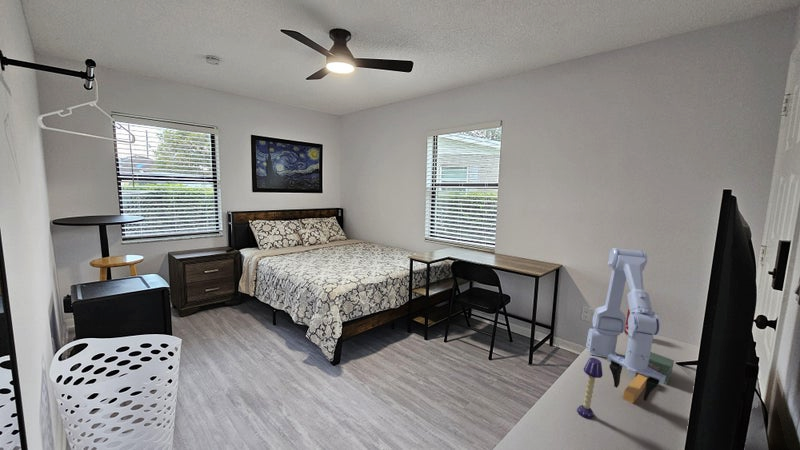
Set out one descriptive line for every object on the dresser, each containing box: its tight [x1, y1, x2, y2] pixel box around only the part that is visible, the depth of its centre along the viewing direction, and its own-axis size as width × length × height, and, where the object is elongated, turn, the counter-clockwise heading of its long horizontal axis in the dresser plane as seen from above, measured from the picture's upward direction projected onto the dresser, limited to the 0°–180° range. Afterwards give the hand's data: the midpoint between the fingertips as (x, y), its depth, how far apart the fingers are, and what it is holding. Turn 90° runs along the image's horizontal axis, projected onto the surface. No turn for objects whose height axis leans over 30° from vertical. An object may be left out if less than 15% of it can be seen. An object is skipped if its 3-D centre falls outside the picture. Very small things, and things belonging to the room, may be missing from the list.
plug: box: [622, 373, 649, 404], centre depth 109 cm, size 19×4×4 cm, turn 131°
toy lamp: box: [576, 357, 604, 419], centre depth 96 cm, size 5×5×17 cm
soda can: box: [623, 308, 630, 337], centre depth 146 cm, size 5×5×12 cm
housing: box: [648, 351, 675, 385], centre depth 118 cm, size 6×11×7 cm, turn 41°
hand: (630, 392), depth 104 cm, fingers open, 7 cm apart
